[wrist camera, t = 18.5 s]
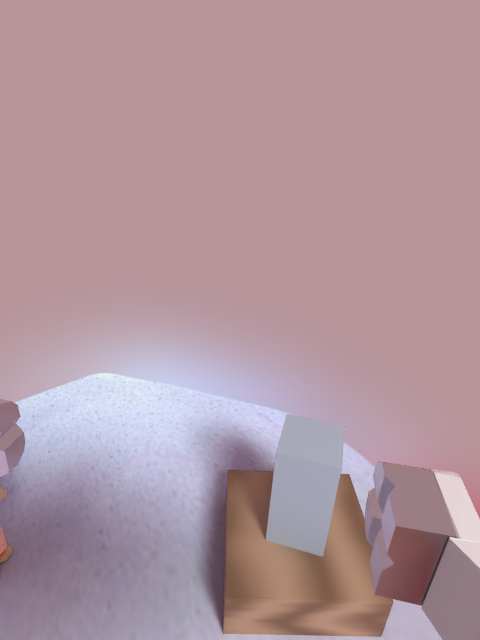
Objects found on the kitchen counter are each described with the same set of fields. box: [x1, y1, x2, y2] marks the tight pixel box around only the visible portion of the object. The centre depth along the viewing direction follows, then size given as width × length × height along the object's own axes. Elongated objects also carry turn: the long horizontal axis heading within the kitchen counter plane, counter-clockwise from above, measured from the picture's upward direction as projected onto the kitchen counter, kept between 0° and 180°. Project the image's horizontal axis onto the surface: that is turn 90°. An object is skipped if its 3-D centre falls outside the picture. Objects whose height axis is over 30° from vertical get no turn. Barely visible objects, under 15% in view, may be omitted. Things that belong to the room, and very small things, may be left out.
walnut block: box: [223, 470, 393, 637], centre depth 38 cm, size 13×13×5 cm
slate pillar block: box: [266, 414, 344, 557], centre depth 35 cm, size 5×5×10 cm
